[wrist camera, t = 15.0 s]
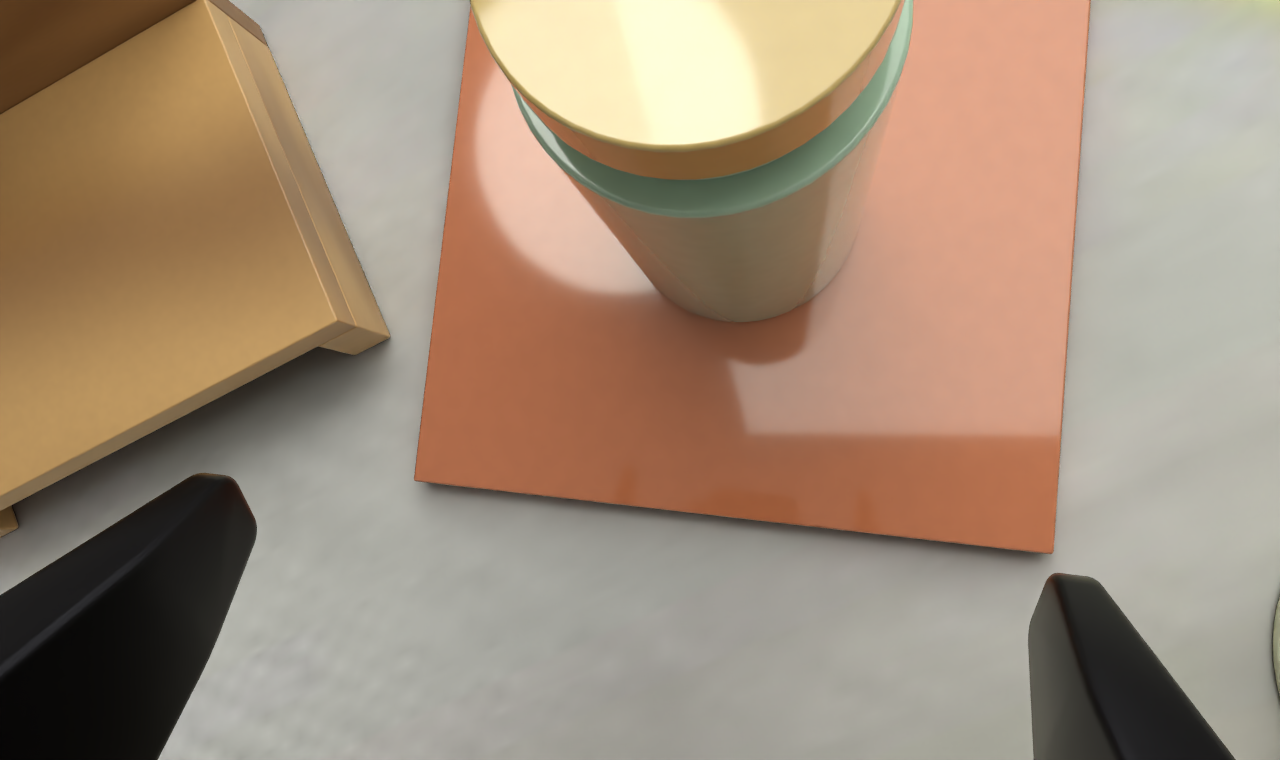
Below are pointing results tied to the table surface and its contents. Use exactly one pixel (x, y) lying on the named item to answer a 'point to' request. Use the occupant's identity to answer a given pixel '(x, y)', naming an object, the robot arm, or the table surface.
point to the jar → (712, 131)
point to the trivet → (786, 317)
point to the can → (1277, 645)
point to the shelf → (152, 228)
